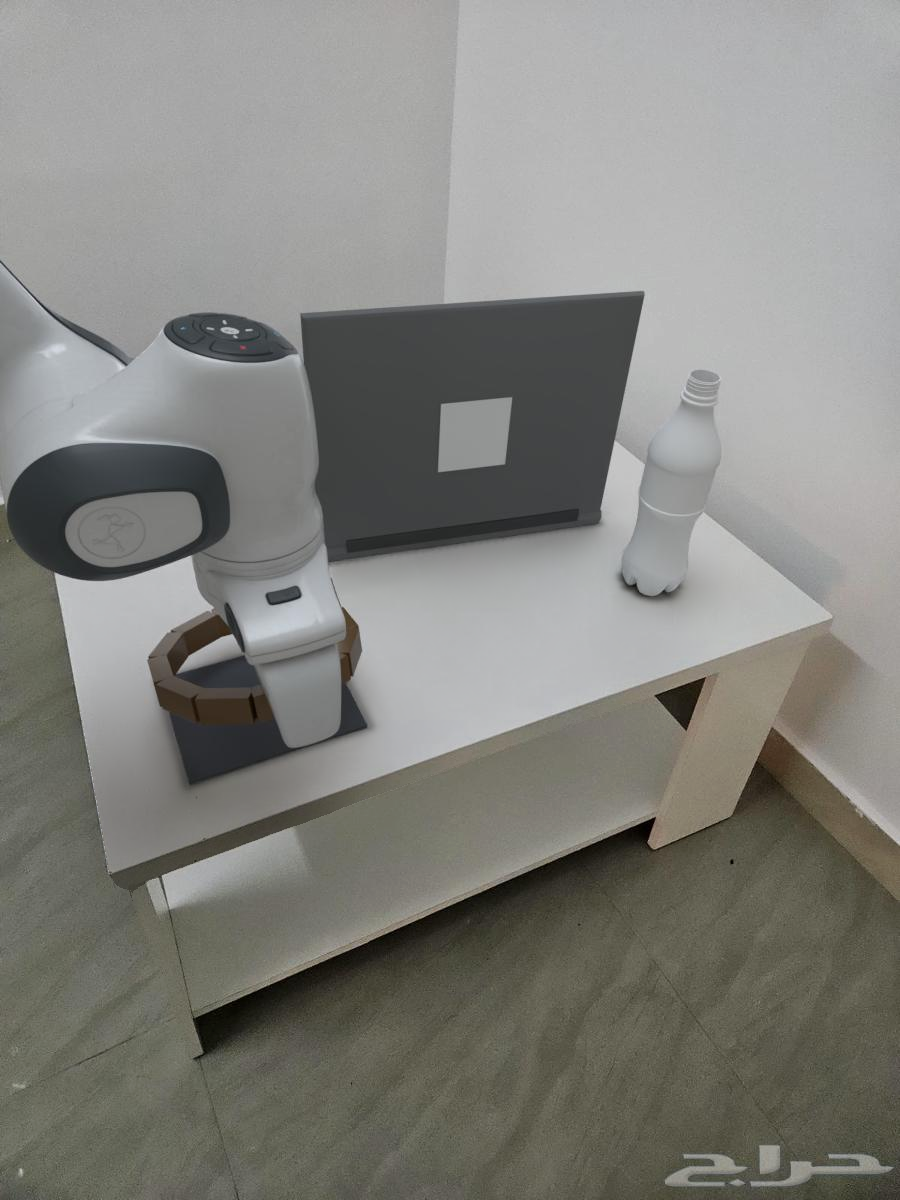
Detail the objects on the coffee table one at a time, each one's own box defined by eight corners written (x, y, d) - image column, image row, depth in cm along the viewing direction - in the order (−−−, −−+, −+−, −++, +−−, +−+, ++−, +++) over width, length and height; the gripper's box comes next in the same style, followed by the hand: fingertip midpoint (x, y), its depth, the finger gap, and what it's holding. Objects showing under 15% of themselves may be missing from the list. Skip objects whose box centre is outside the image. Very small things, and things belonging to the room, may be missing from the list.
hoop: (171, 750, 61) (164, 724, 60) (144, 650, 76) (138, 627, 75) (389, 683, 68) (386, 658, 66) (325, 602, 82) (322, 580, 81)
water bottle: (604, 577, 93) (650, 371, 76) (644, 554, 96) (696, 353, 80) (654, 611, 89) (714, 401, 72) (693, 585, 92) (759, 380, 76)
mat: (189, 785, 69) (189, 782, 69) (160, 681, 77) (159, 678, 77) (367, 727, 74) (367, 724, 74) (321, 636, 83) (321, 634, 83)
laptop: (522, 417, 120) (546, 213, 102) (600, 523, 101) (647, 294, 82) (284, 441, 112) (264, 223, 93) (319, 563, 92) (302, 317, 74)
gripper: (181, 487, 61) (208, 622, 70) (254, 667, 48) (276, 806, 57) (263, 470, 63) (279, 604, 73) (356, 638, 50) (361, 777, 59)
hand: (278, 694), depth 64 cm, fingers closed on hoop, 2 cm apart
